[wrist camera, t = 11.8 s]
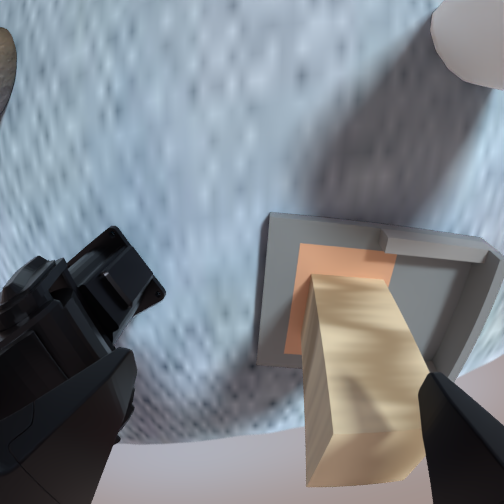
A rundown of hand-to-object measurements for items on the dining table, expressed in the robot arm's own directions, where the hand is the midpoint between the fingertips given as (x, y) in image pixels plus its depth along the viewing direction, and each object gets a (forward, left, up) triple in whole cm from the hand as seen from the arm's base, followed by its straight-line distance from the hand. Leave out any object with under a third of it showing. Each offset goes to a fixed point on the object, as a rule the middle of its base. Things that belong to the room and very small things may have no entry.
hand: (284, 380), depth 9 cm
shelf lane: (+3, -8, -13) cm, 16 cm away
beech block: (+1, -7, -12) cm, 14 cm away
